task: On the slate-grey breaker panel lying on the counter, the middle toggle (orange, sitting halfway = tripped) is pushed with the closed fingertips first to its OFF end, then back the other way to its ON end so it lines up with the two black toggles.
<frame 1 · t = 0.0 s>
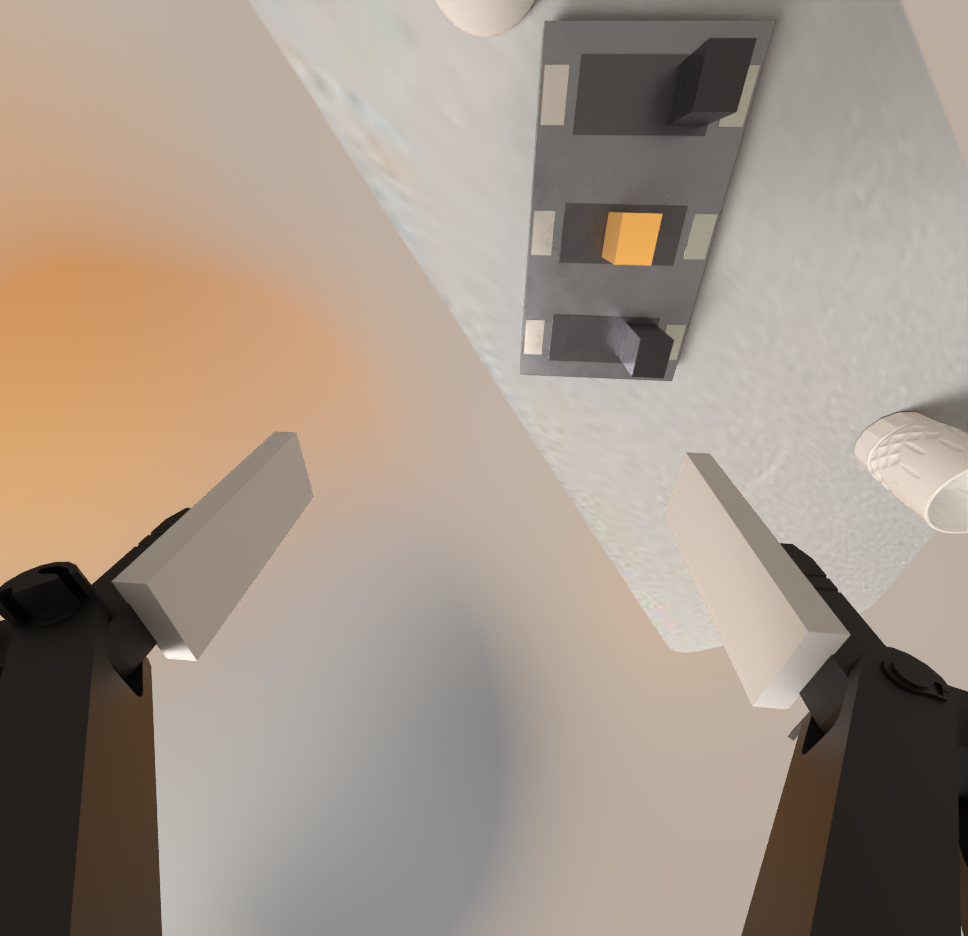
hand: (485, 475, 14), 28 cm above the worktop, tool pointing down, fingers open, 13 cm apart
tripped toggle: (628, 237, 29), point 6 cm above the worktop, slide at 0.0 cm
white cup: (888, 439, 42), on the worktop
panel: (612, 233, 34), on the worktop
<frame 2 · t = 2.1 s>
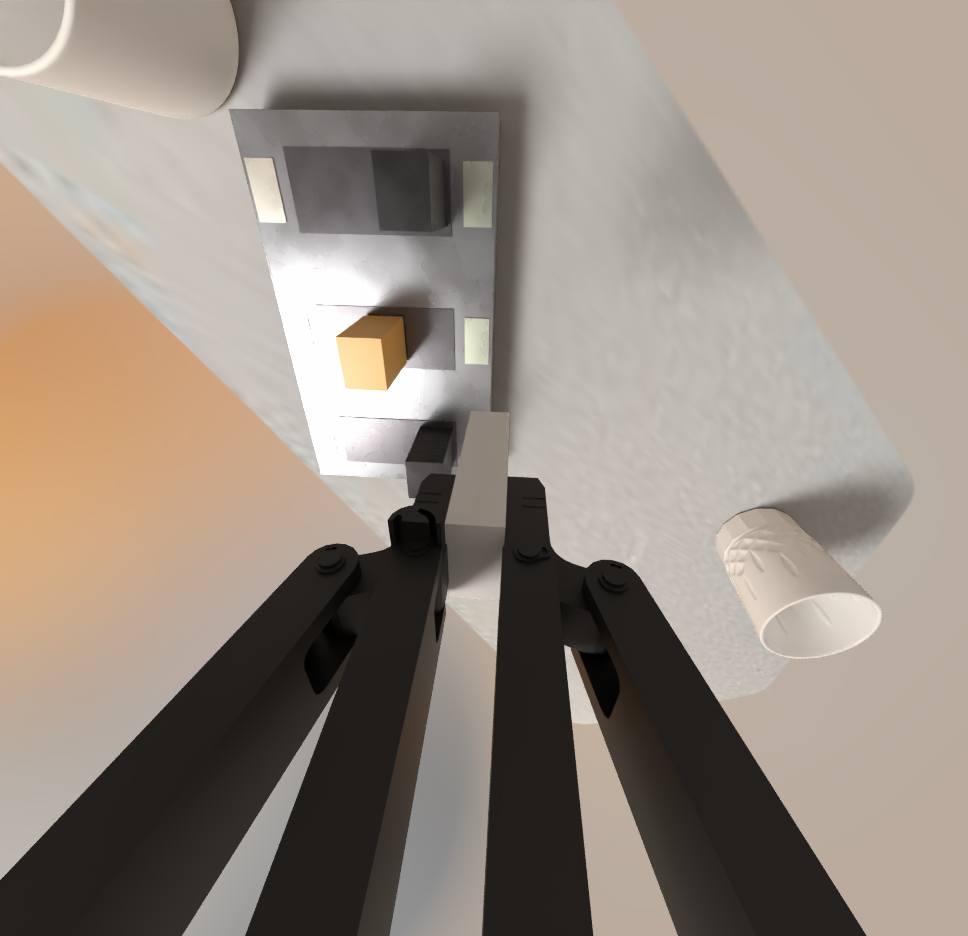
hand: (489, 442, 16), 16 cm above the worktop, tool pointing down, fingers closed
tripped toggle: (375, 351, 24), point 6 cm above the worktop, slide at 0.0 cm
white cup: (751, 533, 38), on the worktop
panel: (398, 326, 29), on the worktop
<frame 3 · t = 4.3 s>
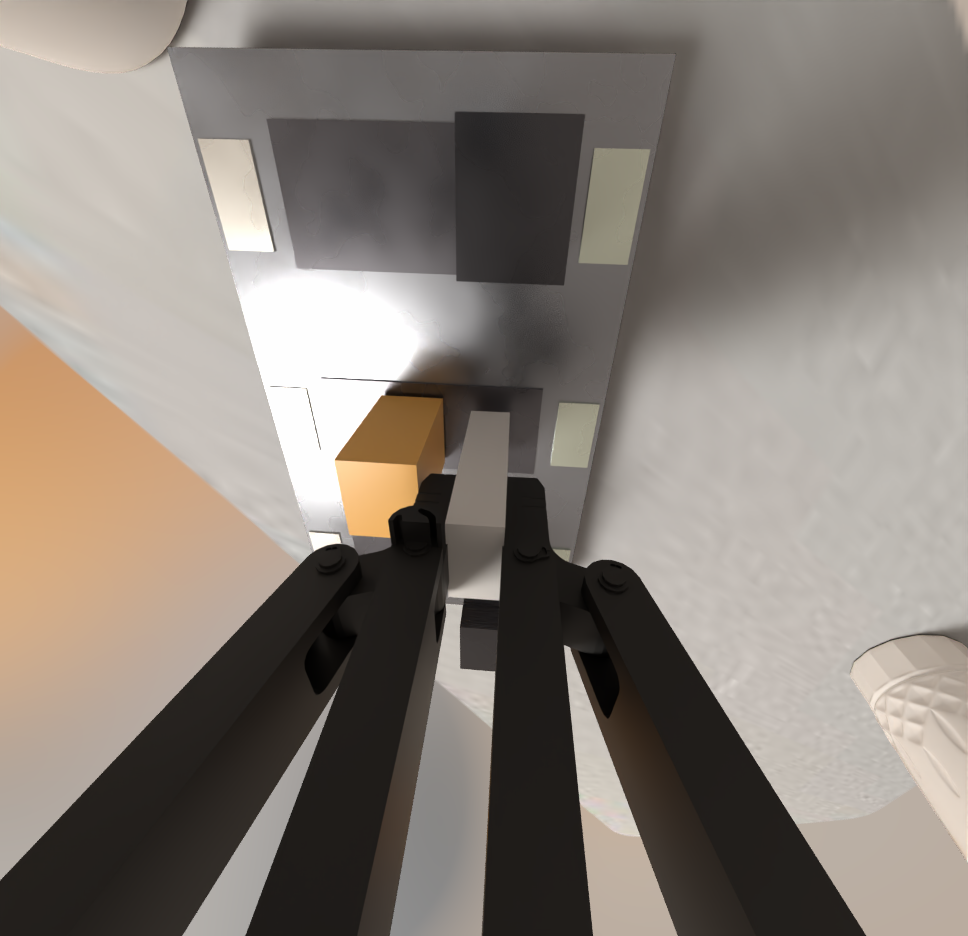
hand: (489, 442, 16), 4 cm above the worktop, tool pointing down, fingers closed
tripped toggle: (400, 461, 15), point 6 cm above the worktop, slide at -0.7 cm, touching gripper
white cup: (902, 660, 28), on the worktop
panel: (443, 399, 20), on the worktop
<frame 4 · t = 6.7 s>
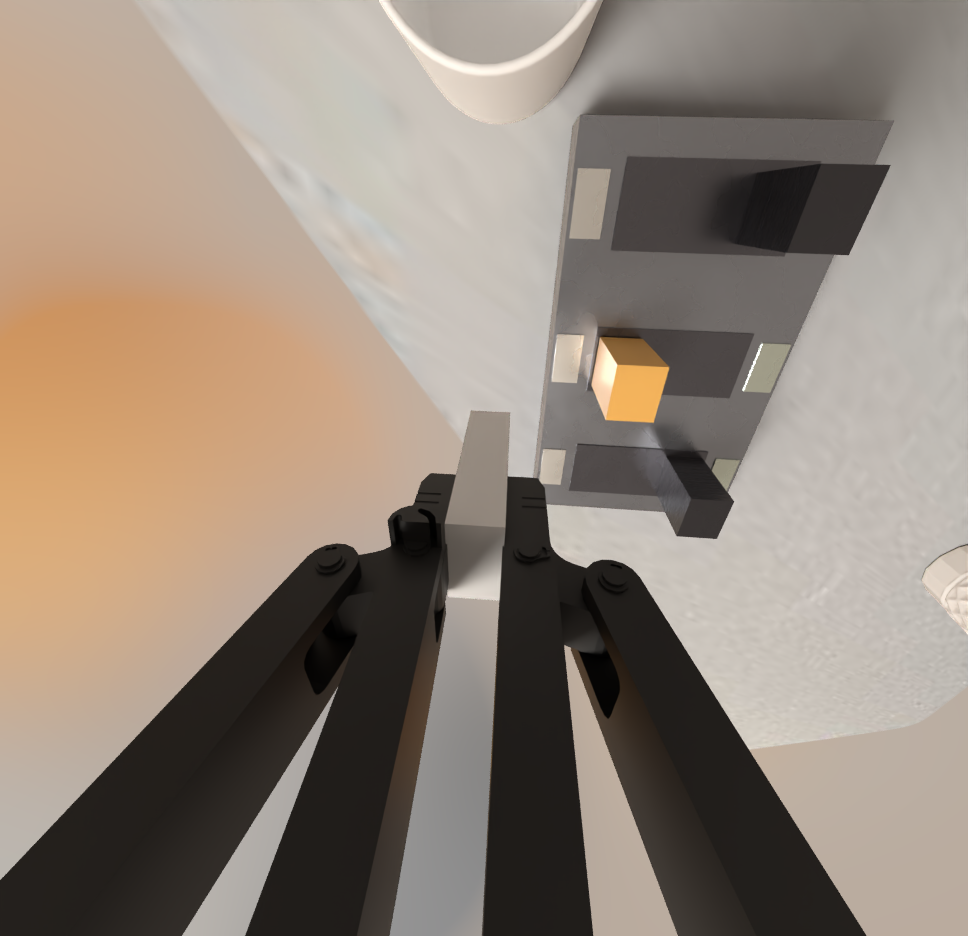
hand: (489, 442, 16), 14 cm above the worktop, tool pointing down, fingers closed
tripped toggle: (625, 377, 22), point 6 cm above the worktop, slide at -3.1 cm
white cup: (964, 566, 36), on the worktop
panel: (651, 349, 27), on the worktop
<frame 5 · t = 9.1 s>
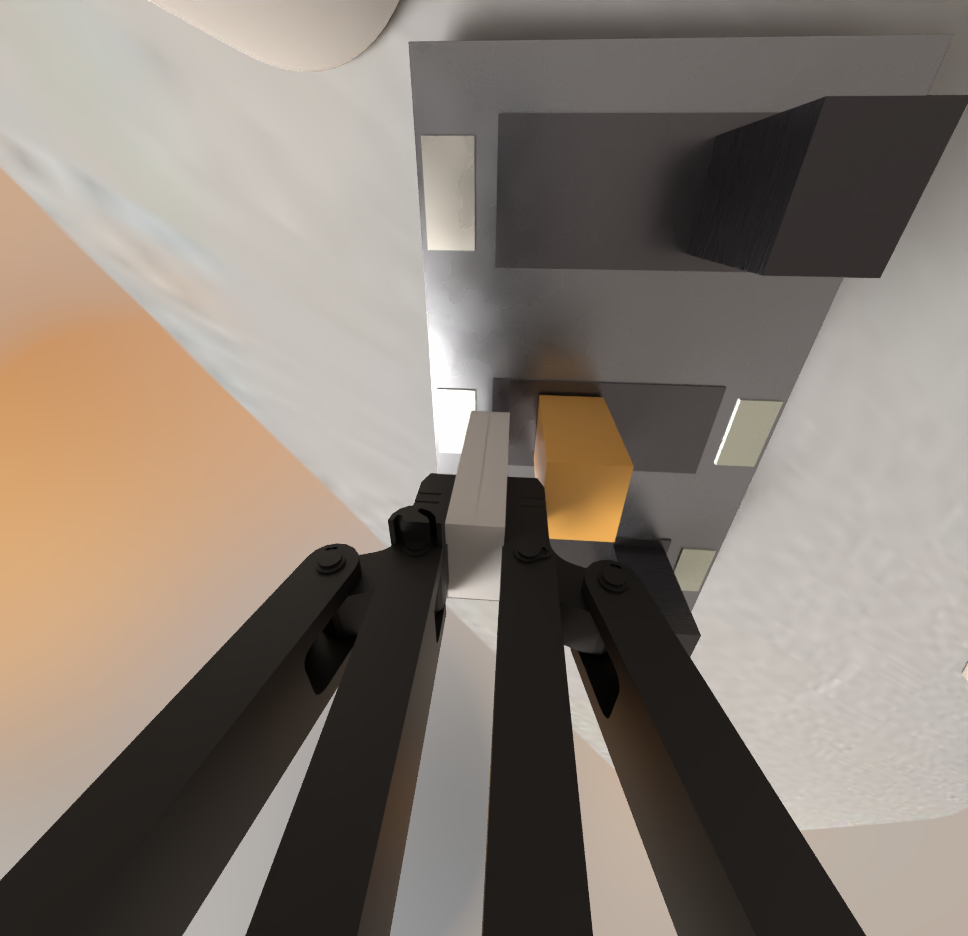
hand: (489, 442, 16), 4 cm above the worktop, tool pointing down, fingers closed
tripped toggle: (573, 461, 15), point 6 cm above the worktop, slide at -1.4 cm, touching gripper
panel: (588, 399, 19), on the worktop
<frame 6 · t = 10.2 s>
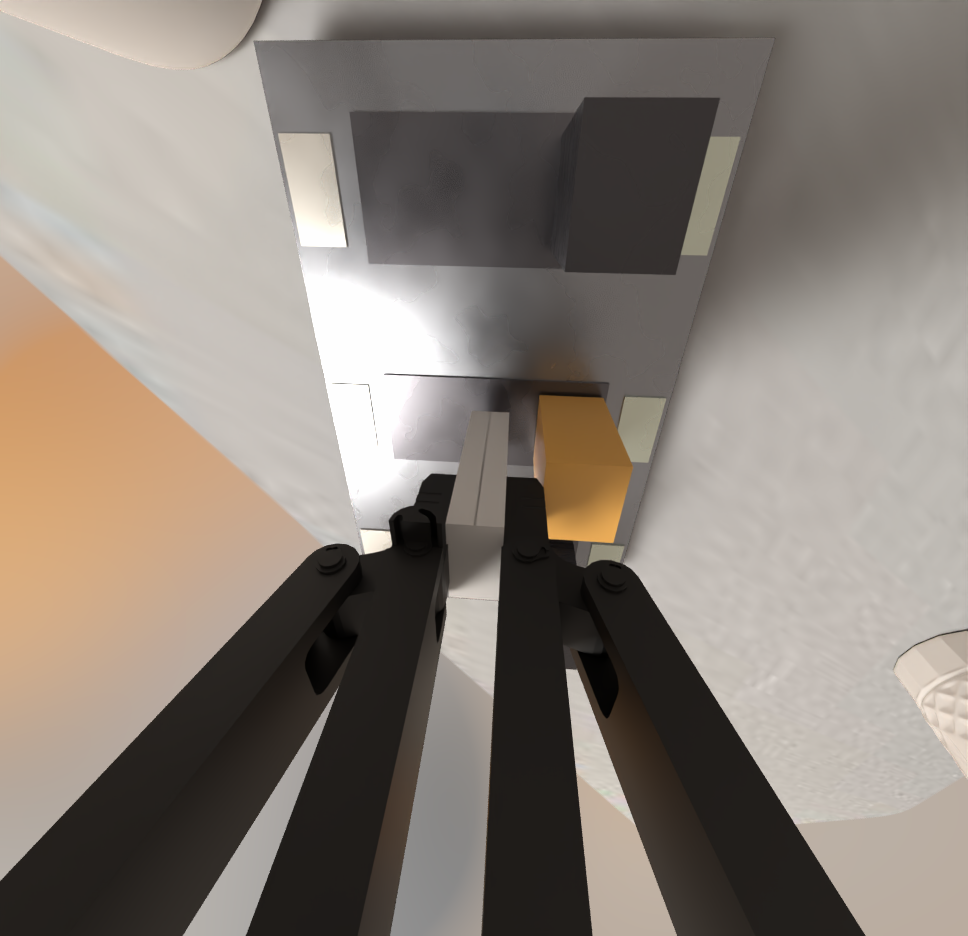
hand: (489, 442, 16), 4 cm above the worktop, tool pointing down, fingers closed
tripped toggle: (573, 462, 15), point 6 cm above the worktop, slide at 3.1 cm, touching gripper
white cup: (947, 656, 28), on the worktop
panel: (496, 395, 20), on the worktop
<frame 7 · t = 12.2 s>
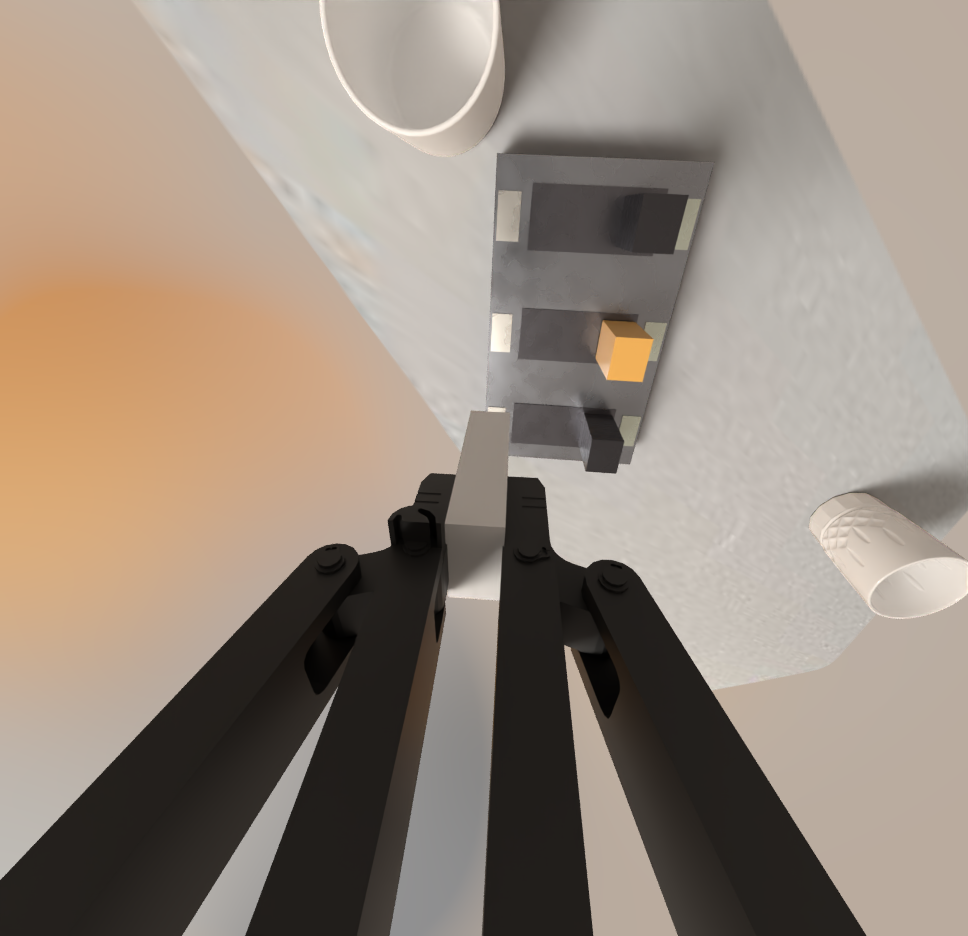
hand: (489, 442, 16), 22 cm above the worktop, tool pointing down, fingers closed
mug: (428, 50, 26), on the worktop
tripped toggle: (621, 349, 30), point 6 cm above the worktop, slide at 3.1 cm
white cup: (841, 515, 43), on the worktop
panel: (571, 328, 35), on the worktop
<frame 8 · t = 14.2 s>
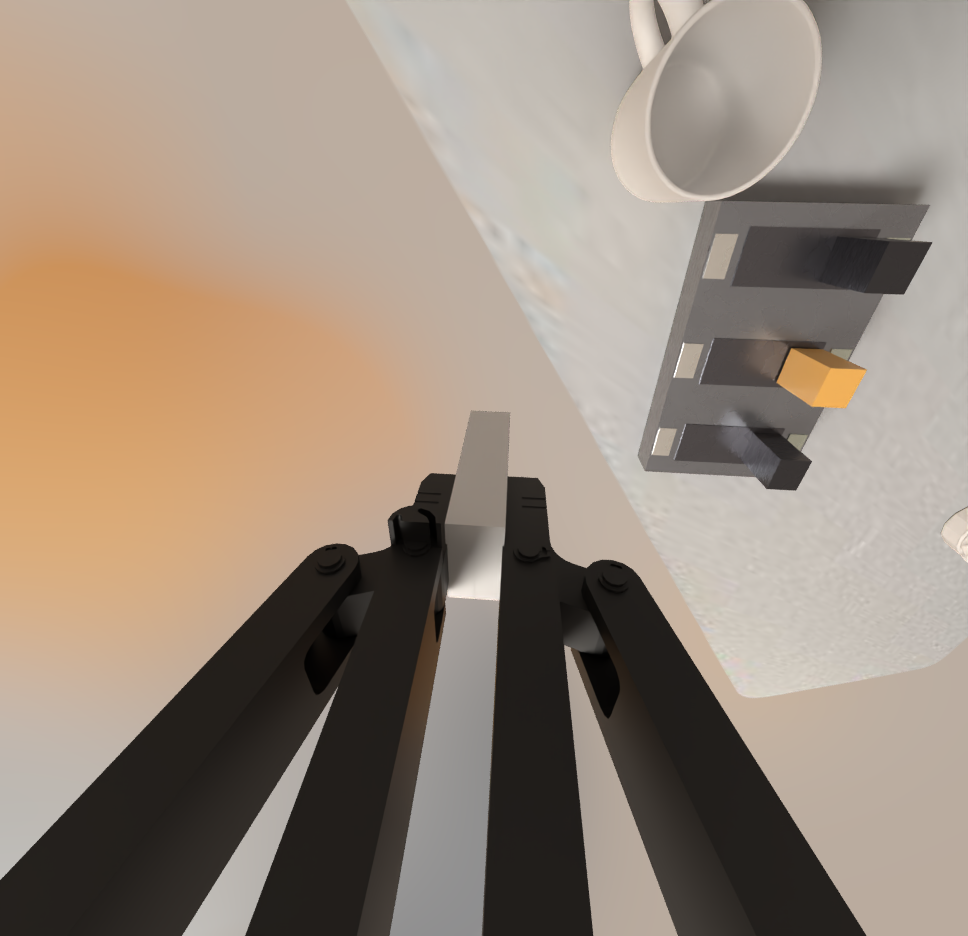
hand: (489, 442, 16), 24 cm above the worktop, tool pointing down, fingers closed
mug: (656, 106, 28), on the worktop
tripped toggle: (817, 376, 32), point 6 cm above the worktop, slide at 3.1 cm
panel: (743, 353, 37), on the worktop
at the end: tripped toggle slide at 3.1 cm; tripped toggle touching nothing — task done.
